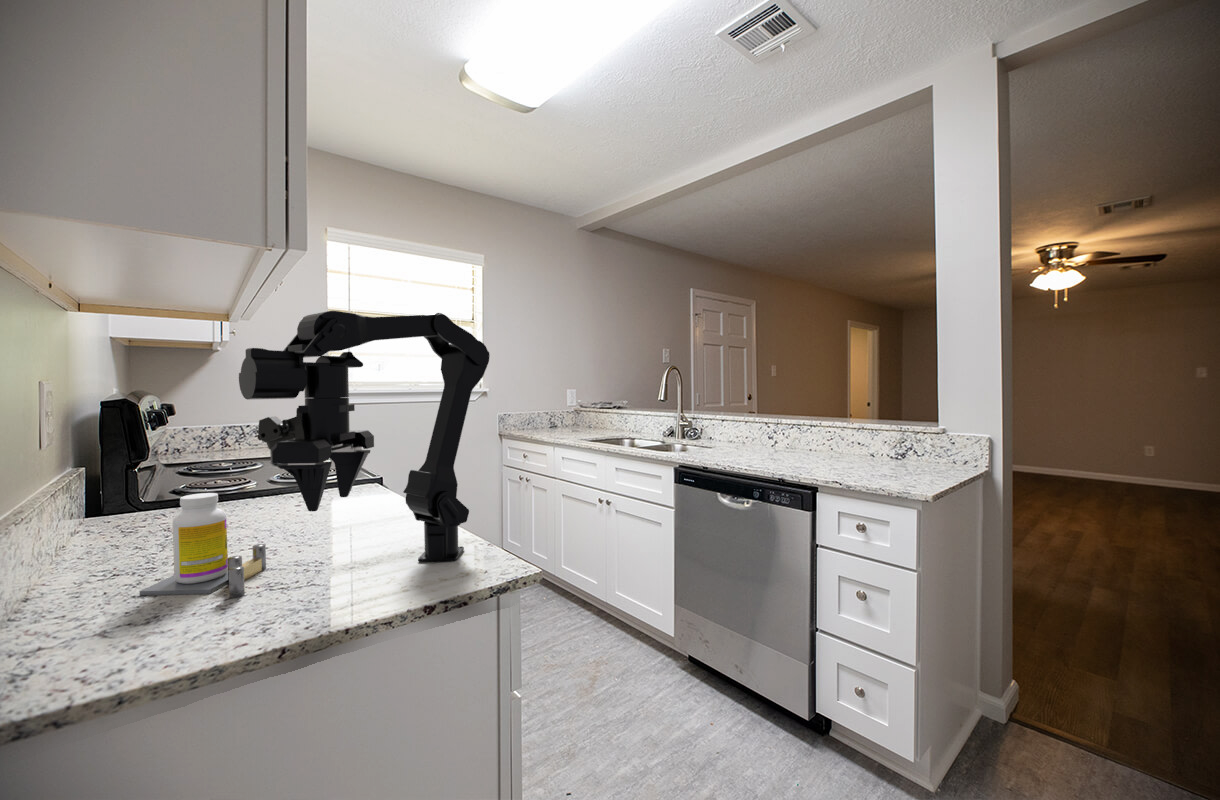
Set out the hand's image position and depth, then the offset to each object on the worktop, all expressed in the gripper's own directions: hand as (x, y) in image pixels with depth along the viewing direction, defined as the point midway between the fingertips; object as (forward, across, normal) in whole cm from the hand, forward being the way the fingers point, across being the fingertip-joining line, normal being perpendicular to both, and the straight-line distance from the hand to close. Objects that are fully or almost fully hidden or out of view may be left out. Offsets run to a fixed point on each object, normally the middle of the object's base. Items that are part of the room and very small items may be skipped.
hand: (329, 503), depth 77 cm
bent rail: (+13, -4, -15) cm, 20 cm away
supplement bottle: (+13, -5, -22) cm, 26 cm away
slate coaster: (+13, -5, -22) cm, 26 cm away
